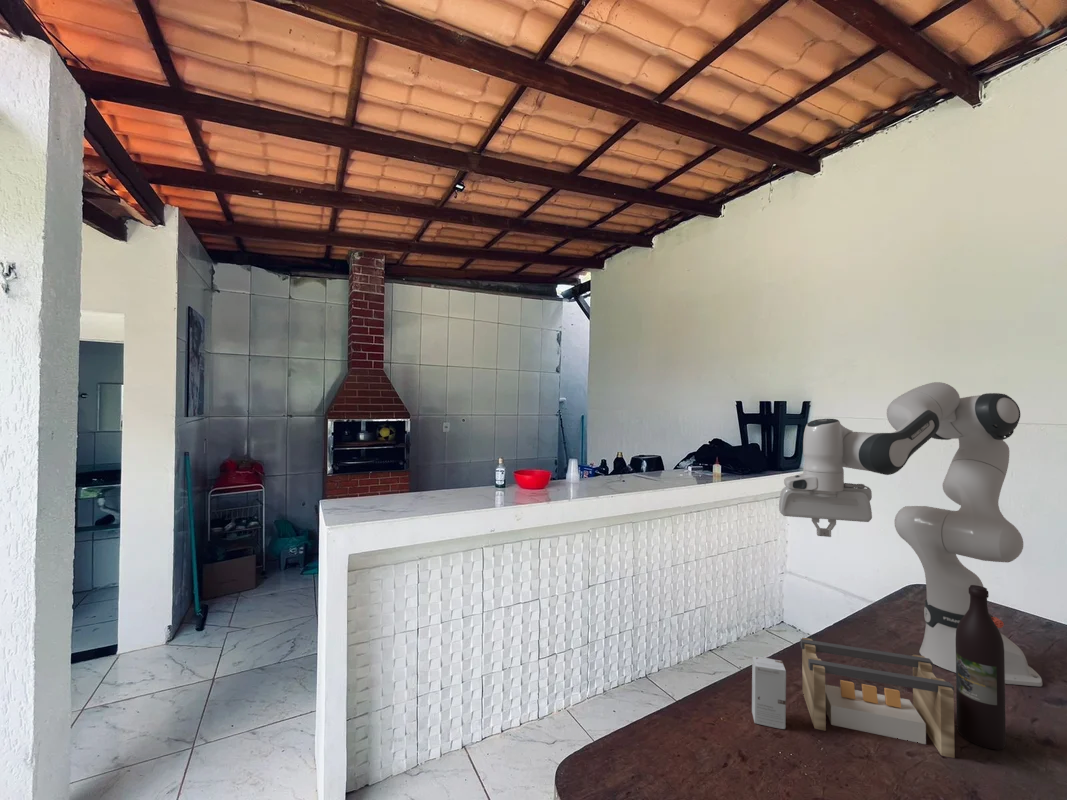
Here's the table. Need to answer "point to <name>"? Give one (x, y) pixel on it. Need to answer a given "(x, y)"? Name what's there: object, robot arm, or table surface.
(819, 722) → the rack
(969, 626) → the wine bottle
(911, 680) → the grey bar
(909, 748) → the table surface
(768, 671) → the skincare box
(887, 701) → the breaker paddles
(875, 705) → the breaker strip
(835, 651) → the long charcoal square rod
